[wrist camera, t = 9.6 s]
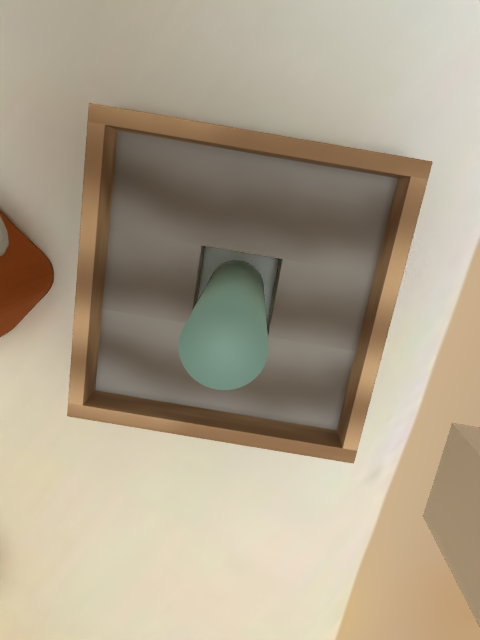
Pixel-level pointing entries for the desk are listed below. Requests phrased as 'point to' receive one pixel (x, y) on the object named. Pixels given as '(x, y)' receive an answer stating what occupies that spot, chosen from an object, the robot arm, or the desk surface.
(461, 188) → the desk surface
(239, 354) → the peg
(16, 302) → the alarm clock
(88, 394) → the socket box
